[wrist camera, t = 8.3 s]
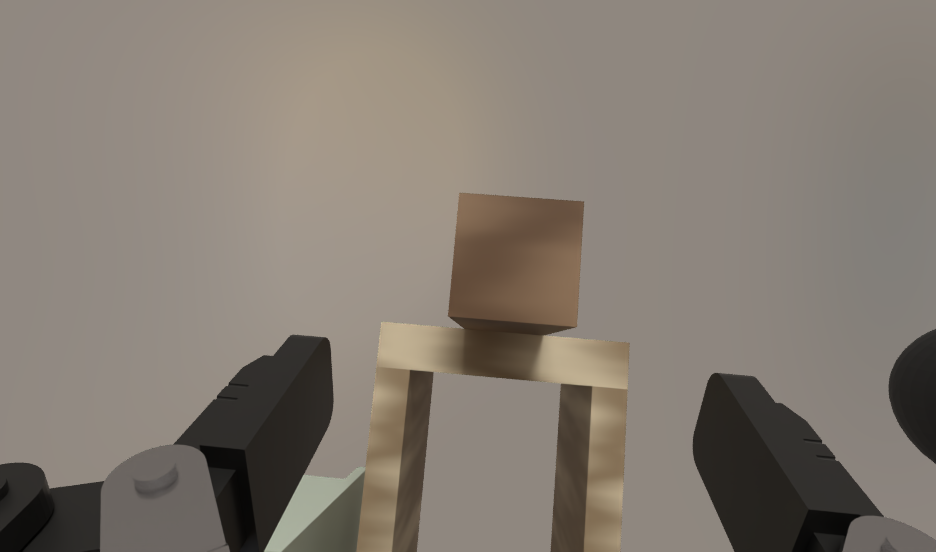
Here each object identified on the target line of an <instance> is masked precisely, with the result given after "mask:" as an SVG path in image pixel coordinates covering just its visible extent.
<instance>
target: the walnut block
mask: <svg viewBox="0 0 936 552" xmlns="http://www.w3.org/2000/svg"><path fill="white" fill-rule="evenodd" d="M583 211H584V202H581V201H568V200H554V199H540V198H525V197H511V196H498V195H484V194H469V193H459V203H458V213H457V224H456V235H455V246H454V258H453V269H452V279H451V290H450V301H449V312H448V316H449V317H450V318H451V319H452V320H454V321H455V322H456V323H458V324H459V325H460V326H462V327H463V328H464V329H472V330H484V331H496V332H508V333H519V334H531V335H543V336H544V335H547V334H552V333H555V332H559V331H563V330H567V329H571V328H575V327H577V315H578V297H579V280H580V262H581V246H582V228H583Z"/></svg>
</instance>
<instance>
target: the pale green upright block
mask: <svg viewBox="0 0 936 552" xmlns="http://www.w3.org/2000/svg"><path fill="white" fill-rule="evenodd" d="M364 478H365V468H364V467H358V468H357V469H355V470H354V471H353V472H352V473H351V474H350V475H349V476H348V477H347V478H345V479H338V478H329V477H319V476H310V475H303V477H302V479H301V481H300V483H299V485H298V487H297V489H296V490H295V492H294V494H293V496H292V498H291V500H290V502H289V504H288V506H287V508H286V510H285V512H284V514H283V516H282V518H281V519H280V521H279V523H278V525H277V527H276V529H275V531H274V533H273V535H272V537H271V539H270V541H269V543H268V545H267V547H266V549H265V550H264V552H356V551H357V542H358V533H359V524H360V514H361V505H362V496H363V487H364Z"/></svg>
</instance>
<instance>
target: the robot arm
mask: <svg viewBox="0 0 936 552" xmlns="http://www.w3.org/2000/svg"><path fill="white" fill-rule="evenodd" d="M331 365H332V364H331V348H330V342H329V340H328V339H327V338H325V337H314V336H302V335H291V336H290V337H289V338H288V339H287V340H286V341H285V343H284V344H283V345H282V346H281V347H280V348H279V350H278V351H277V352H276V353H275V354H274V356H265V355H264V356H262V357H260V358H258V359H257V360H255V361H253V362H251V363H250V364H248V365H246V366H245V367H243V368H242V369H241V370H240V371H239V372H238V373H237V375H235V377H234V378H233V379H232V380H231V381H230V382H229V385H228V386H226V387H225V388H224V389H223V390H222V391H221V392H220V393H219V394H218V395H217V399H216V400H213V401H212V402H211V403H210V405H208V407H207V408H206V409H205V410H204V411H203V412H202V413H201V415H199V417H198V418H197V419H196V420H195V421H194V422H193V423H192V425H191V426H190V427H189V428H188V429H187V430H186V431H185V432H184V434H182V436H181V437H180V438H179V439H178V440H177V441H176V442H175V443H174V444H173V445H165V446H160V447H156V448H152V449H149V450H146V451H143V452H141V453H139V454H136V455H134V456H133V457H131V458H129V459H127V460H126V461H124V462H123V463H121V464H120V465H119V466H117V467H116V468H115V469H114V470H113V471H112V472H111V473H110V474H109V475H108V477H107V478H106V480H105V481H102V482H96V483H88V484H80V485H74V486H66V487H58V488H51V489H49V486H48V483H47V480H46V477H45V474H44V472H43V470H42V469H41V468H39V467H38V466H36V465H33V464H29V463H8V464H2V465H0V552H264V550H265V549H266V547H267V545H268V543H269V541H270V539H271V537H272V535H273V533H274V531H275V529H276V527H277V525H278V523H279V521H280V519H281V518H282V516H283V514H284V512H285V510H286V508H287V506H288V504H289V502H290V500H291V498H292V496H293V494H294V492H295V490H296V489H297V487H298V485H299V483H300V481H301V479H302V477H303V475H304V473H305V471H306V469H307V467H308V465H309V463H310V461H311V459H312V458H313V455H314V454H315V452H316V450H317V448H318V446H319V444H320V442H321V440H322V438H323V436H324V434H325V432H326V430H327V428H328V426H329V423H330V420H331V416H332V411H333V381H332V366H331ZM889 398H890V402H891V406H892V409H893V412H894V414H895V417H896V419H897V421H898V423H899V425H900V426H901V428H902V429H903V431H904V432H905V434H906V435H907V437H908V438H909V439H910V441H912V443H913V444H914V445H915V446H916V447H917V448H918V449H919V450H920V451H921V452H922V453H923V454H924V455H925V456H927V457H928V458H929V459H931V460H932V461H933V462H934V463H935V464H936V329H935V330H932V331H930V332H928V333H926V334H924V335H922V336H921V337H919V338H918V339H916V340H915V341H914V342H913V343H911V344H910V345H909V346H908V347H907V348H906V349H905V350H904V351H903V352H902V354H901V355H900V356H899V358H898V359H897V360H896V362H895V364H894V367H893V369H892V371H891V374H890V378H889ZM693 455H694V461H695V464H696V466H697V469H698V471H699V473H700V476H701V478H702V480H703V482H704V484H705V487H706V489H707V491H708V493H709V496H710V498H711V500H712V502H713V505H714V507H715V509H716V511H717V513H718V516H719V518H720V520H721V523H722V525H723V527H724V529H725V531H726V534H727V536H728V538H729V540H730V543H731V545H732V547H733V549H734V552H936V540H935V539H933V538H932V537H930V536H928V535H927V534H925V533H923V532H921V531H920V530H918V529H916V528H913V527H912V526H909V525H907V524H904V523H902V522H899V521H896V520H893V519H889V518H885V517H884V516H883V515H882V514H881V513H880V511H879V510H878V509H877V508H876V506H875V505H874V504H873V503H872V501H871V500H870V499H869V498H868V497H867V495H866V494H865V493H864V492H863V491H862V489H861V488H860V487H859V485H858V484H857V483H856V482H855V481H854V479H853V478H852V477H851V476H850V474H849V473H848V472H847V471H846V469H845V468H844V467H843V466H842V464H841V463H840V462H839V461H836V460H835V456H834V455H833V453H832V452H831V451H830V450H829V448H828V447H827V446H826V445H825V444H822V440H821V439H820V438H819V436H818V435H817V434H816V432H815V431H814V430H813V429H812V428H811V426H810V425H809V424H808V423H807V422H806V421H805V420H804V419H803V418H801V417H800V416H798V415H797V414H796V413H794V412H793V411H792V410H790V409H789V408H787V407H786V406H785V405H783V404H781V403H775V402H774V400H773V399H772V398H771V396H770V395H769V394H768V392H767V391H766V390H765V388H764V387H763V386H762V385H761V384H760V382H759V381H758V380H757V379H756V378H755V377H753V376H745V375H733V374H722V373H714V374H712V375H711V377H710V378H709V380H708V383H707V387H706V390H705V394H704V398H703V402H702V405H701V409H700V413H699V416H698V420H697V424H696V427H695V431H694V436H693Z"/></svg>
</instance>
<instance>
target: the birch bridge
mask: <svg viewBox="0 0 936 552" xmlns="http://www.w3.org/2000/svg"><path fill="white" fill-rule="evenodd" d="M628 365H629V343H625V342H613V341H601V340H589V339H578V338H566V337H554V336H543V335H531V334H519V333H508V332H496V331H484V330H472V329H461V328H449V327H437V326H426V325H414V324H402V323H390V322H381V330H380V339H379V349H378V358H377V368H376V377H375V386H374V395H373V404H372V413H371V422H370V432H369V441H368V451H367V460H366V468H365V478H364V487H363V496H362V505H361V514H360V524H359V533H358V542H357V551H356V552H417V542H418V532H419V520H420V511H421V500H422V488H423V479H424V468H425V457H426V447H427V436H428V425H429V415H430V404H431V394H432V383H433V372H440V373H451V374H462V375H463V374H464V375H473V376H485V377H496V378H507V379H519V380H529V381H540V382H551V383H561V391H560V408H559V424H558V440H557V459H556V473H555V490H554V506H553V523H552V539H551V552H620V547H621V525H622V501H623V480H624V457H625V454H624V453H625V434H626V411H627V410H626V409H627V388H628Z"/></svg>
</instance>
